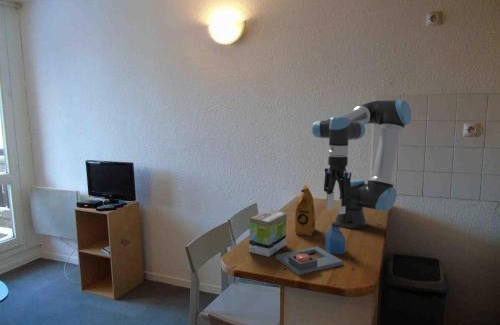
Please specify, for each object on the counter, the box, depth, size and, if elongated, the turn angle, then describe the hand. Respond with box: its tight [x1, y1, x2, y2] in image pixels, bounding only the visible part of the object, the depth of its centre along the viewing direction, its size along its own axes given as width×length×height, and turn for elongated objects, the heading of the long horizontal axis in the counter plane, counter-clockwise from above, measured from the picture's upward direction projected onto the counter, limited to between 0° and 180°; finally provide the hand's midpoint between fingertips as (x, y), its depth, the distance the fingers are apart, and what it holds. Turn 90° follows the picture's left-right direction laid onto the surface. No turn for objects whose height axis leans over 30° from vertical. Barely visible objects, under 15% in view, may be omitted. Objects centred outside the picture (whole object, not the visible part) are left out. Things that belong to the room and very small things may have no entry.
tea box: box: [248, 209, 288, 258], centre depth 146 cm, size 15×10×15 cm
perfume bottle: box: [324, 221, 346, 255], centre depth 144 cm, size 6×6×12 cm
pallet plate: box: [275, 245, 344, 276], centre depth 134 cm, size 20×16×4 cm
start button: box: [296, 254, 310, 262], centre depth 128 cm, size 5×5×2 cm
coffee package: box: [294, 184, 316, 237], centre depth 167 cm, size 10×12×22 cm
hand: (336, 211), depth 143 cm, fingers open, 7 cm apart
